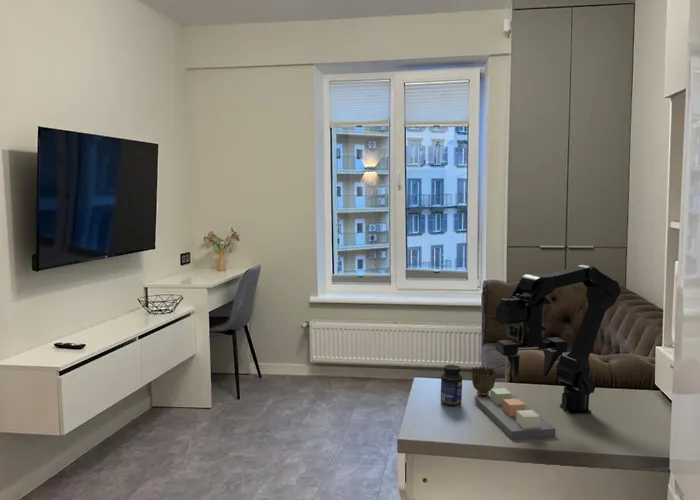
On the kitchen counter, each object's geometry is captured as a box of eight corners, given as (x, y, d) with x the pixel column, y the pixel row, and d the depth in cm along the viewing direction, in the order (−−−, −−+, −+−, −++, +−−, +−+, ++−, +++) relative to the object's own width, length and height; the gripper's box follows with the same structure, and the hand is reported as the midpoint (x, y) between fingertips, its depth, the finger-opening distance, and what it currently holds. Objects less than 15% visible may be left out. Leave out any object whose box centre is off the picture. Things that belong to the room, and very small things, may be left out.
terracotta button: (517, 410, 170) (517, 398, 170) (524, 416, 166) (525, 404, 165) (502, 411, 169) (502, 399, 169) (509, 417, 165) (509, 405, 164)
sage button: (504, 399, 178) (504, 388, 178) (510, 404, 174) (511, 393, 174) (490, 400, 177) (490, 388, 177) (496, 405, 173) (496, 394, 173)
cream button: (531, 422, 162) (532, 409, 161) (539, 429, 157) (540, 416, 157) (515, 423, 161) (516, 410, 160) (523, 430, 157) (524, 417, 156)
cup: (497, 399, 182) (498, 374, 181) (473, 399, 182) (474, 373, 181) (492, 391, 190) (493, 366, 189) (468, 390, 190) (469, 365, 189)
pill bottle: (461, 408, 175) (462, 370, 174) (439, 406, 177) (440, 369, 175) (461, 400, 181) (462, 364, 180) (440, 398, 183) (442, 363, 181)
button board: (514, 402, 180) (514, 395, 180) (555, 436, 157) (555, 428, 157) (476, 404, 178) (476, 397, 178) (511, 439, 155) (511, 431, 155)
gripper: (549, 313, 175) (547, 365, 177) (488, 315, 172) (486, 369, 174) (570, 322, 164) (567, 378, 166) (505, 325, 161) (503, 382, 163)
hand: (530, 376), depth 167 cm, fingers open, 8 cm apart
